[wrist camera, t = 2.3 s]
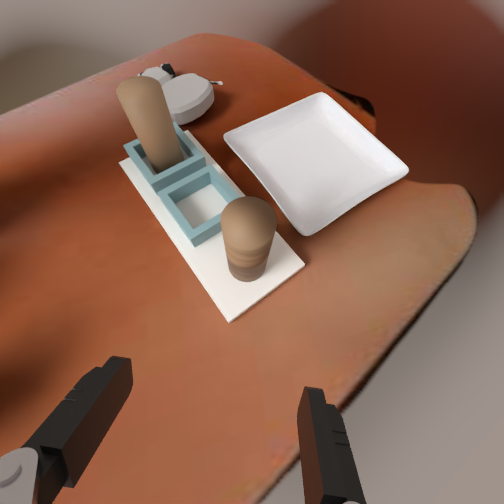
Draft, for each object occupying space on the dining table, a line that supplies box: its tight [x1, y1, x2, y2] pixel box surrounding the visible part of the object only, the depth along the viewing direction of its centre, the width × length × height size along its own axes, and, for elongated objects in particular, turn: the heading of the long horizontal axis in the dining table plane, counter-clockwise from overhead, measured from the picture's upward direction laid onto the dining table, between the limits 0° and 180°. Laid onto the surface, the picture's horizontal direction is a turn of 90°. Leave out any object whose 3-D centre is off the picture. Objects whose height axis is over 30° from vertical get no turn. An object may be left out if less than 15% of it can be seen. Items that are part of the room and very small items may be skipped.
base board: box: [116, 76, 305, 323], centre depth 28 cm, size 12×29×12 cm, turn 37°
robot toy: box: [137, 63, 223, 125], centre depth 41 cm, size 12×4×15 cm
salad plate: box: [223, 92, 409, 236], centre depth 37 cm, size 21×21×3 cm
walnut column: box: [220, 196, 277, 282], centre depth 25 cm, size 5×5×11 cm
